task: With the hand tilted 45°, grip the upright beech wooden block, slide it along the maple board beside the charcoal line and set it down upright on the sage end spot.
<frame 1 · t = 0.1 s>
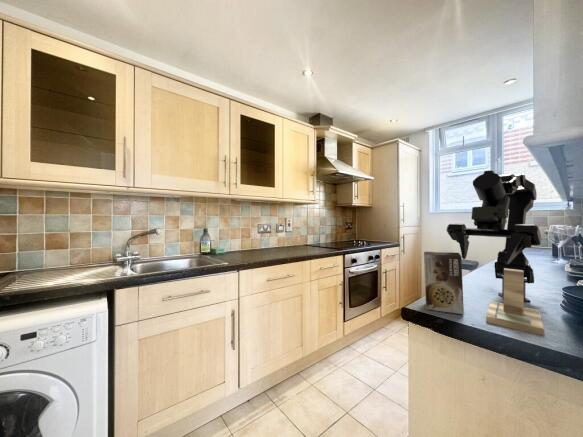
hand: (483, 261, 60), 15 cm above the countertop, tool tilted 35°, fingers open, 8 cm apart
food box: (443, 309, 68), on the countertop, touching gripper
wooden block: (513, 311, 63), point 2 cm above the countertop, touching maple board
maple board: (513, 318, 61), on the countertop
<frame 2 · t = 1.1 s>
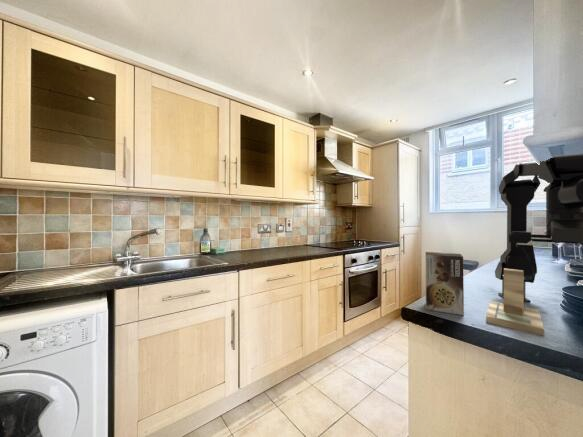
hand: (564, 276, 54), 13 cm above the countertop, tool pointing down, fingers open, 9 cm apart
food box: (443, 309, 68), on the countertop
everything else where it was.
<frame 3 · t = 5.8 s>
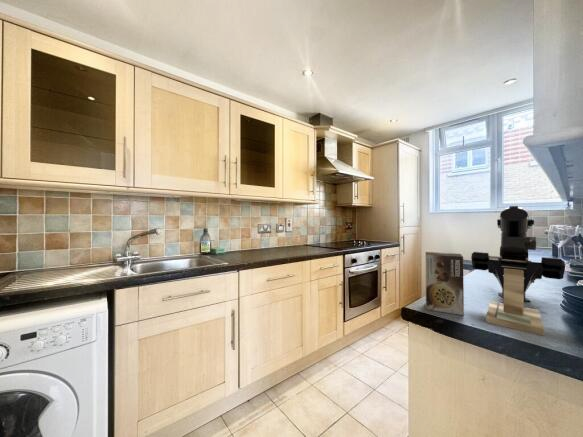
hand: (513, 289, 62), 8 cm above the countertop, tool tilted 45°, fingers closed on wooden block, 4 cm apart
wooden block: (513, 311, 63), point 2 cm above the countertop, touching gripper, maple board
everything else where it was.
when the fingers open (9 cm above the countertop, at t = 9.0 s): wooden block drops 1 cm, resting on maple board.
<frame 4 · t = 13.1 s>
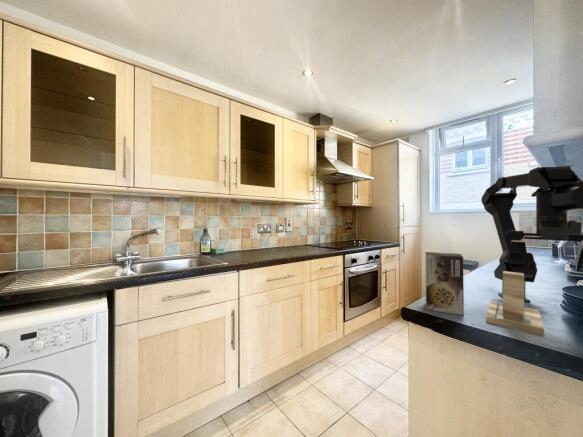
hand: (551, 268, 64), 13 cm above the countertop, tool pointing down, fingers open, 9 cm apart
wooden block: (513, 317, 58), point 2 cm above the countertop, touching maple board
everything else where it was.
at the end: wooden block 0.1 cm from the target spot, point 1.6 cm above the countertop; wooden block tilted 0°; the gripper is holding nothing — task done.
